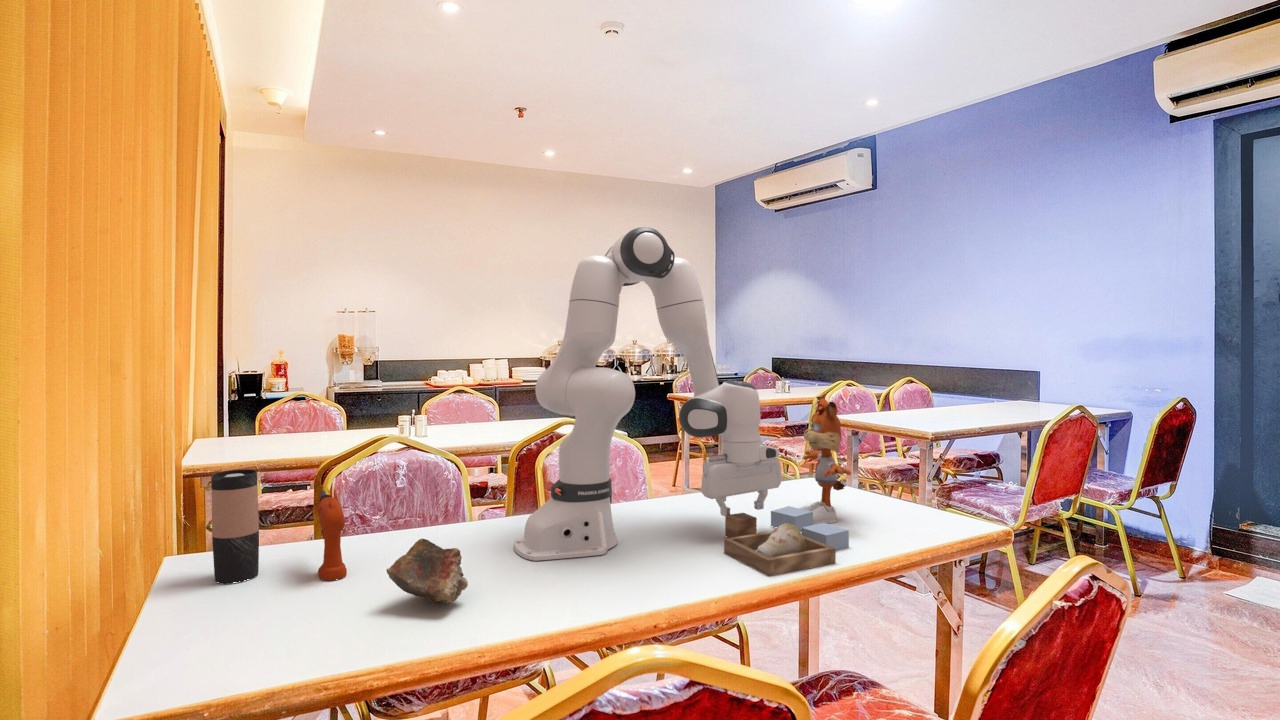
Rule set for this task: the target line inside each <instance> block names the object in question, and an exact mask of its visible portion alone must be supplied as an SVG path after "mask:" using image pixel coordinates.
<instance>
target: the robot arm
mask: <svg viewBox="0 0 1280 720" xmlns="http://www.w3.org/2000/svg"><path fill="white" fill-rule="evenodd" d="M640 282H643V283H645V284H646V285H647V287H649V289H650V291H651V292H652V296H653V297H654V303H655V309H656V314H657V319H658V323H659V325H660V328H661V330H662V332H663V335H664V338H666V340H667V341H669V342H670V343H671V344H673V345H674V346H675V347H676V348H677V349H678V350H679V351H680V352H681V353H682V355H683V357H684V358H685V361H686V364H687V368H688V371H689V376H690V379H691V383H692V387H693V397H691V398H689V399H688V400H687V401H686V402H684V403H683V405H682V406H681V407H680V411H679V414H678V415H679V418H678V419H679V424H680V425H681V427H682V430H683V431H684V432H685V433H686V434H687V435H689V436H691V437H693V438H697V439H699V438H700V439H702V438H707V437H712V436H718V435H719V436H721V454H718V455H711V456H708V457H707V458H706V459H705V460H704V461H703V463H702V477H701V485H700V486H701V489H700V490H701V494H702V495H703V497H705V498H707V499H710V500H714V499H715V501H716V503H717V505H718V507H719V508H720V515H721V516H723V517H725V516H729V515H730V514H731V507H728V506H727V505H726V503H725V502H727V497H732V496H733V497H734V496H738V495H744V494H749V493H754V492H757V493H758V495H757V498H756V500H754V501H753V504H754V505H753V508H754V509H755V510H758V511H759V510H760V511H761V510H764V507H765V503H764V502H765V501H766V499H767V497H768V494H769V492H768V490H771V489H772V490H773V489H777V488H779V487H780V485H781V484H782V468H781V463H780V460H779V459H778V458H779V457H780V449H779V448H777V447H775V446H770V445H766V444H764V443H762V438H761V435H760V428H759V427H760V423H761V405H760V396H759V395H760V394H759V392H758V389H757V388H756V387H755V385H753V383H750V382H747V381H743V380H736V379H735V380H733V379H731V380H725V381H723V382H722V384H720V381H719V378H718V373H717V369H716V365H715V362H714V358H713V353H712V350H711V346H710V345H711V344H710V338H709V337H710V336H709V332H708V331H709V330H708V321H707V313H706V307H705V302H704V298H703V297H704V296H703V293H702V289H701V285H700V283H699V279H698V276H697V274H696V272H695V269H694V267H693V265H692V263H691V262H690V261H689V260H687V259H686V258H683V257H679V256H678V257H677V256H676V255H675V252H674V250H673V249H672V248H671V247H670V245H669V244H668V241H667V240H666V238H665V237H664V235H663V234H662V233H661V232H659V230H657V229H655V228H652V227H647V226H643V227H642V226H641V227H637V228H633V229H631V230H630V231H628V232H627V233H626V234H624V235H622V236H621V237H620V238H619V239H617V240H616V241H615V243H614V244H613V245H611V247H610V248H609V249H608V251H607V252H606V254H604V255H601V254H600V255H599V254H597V255H596V254H595V255H594V254H593V255H589V256H585V257H584V258H582V259H581V260H580V261H579V262H578V264H577V268H576V270H575V272H574V277H573V279H572V284H571V289H570V295H569V300H568V301H569V302H568V309H567V315H566V316H567V318H566V324H565V331H564V335H563V338H562V342H561V345H560V347H559V349H558V351H557V353H556V355H555V357H554V359H553V361H552V362H551V364H550V365H549V366H548V368H546V369H545V370H544V371H543V372H542V373H541V374H540V375H539V376H538V378H537V379H536V383H535V397H536V400H537V402H538V404H539V406H541V407H542V408H543V409H545V410H547V411H550V412H553V413H555V414H557V415H562V416H572V417H575V418H574V420H575V421H574V424H573V428H572V431H571V433H570V435H568V436H567V437H565V438H564V439H562V441H561V442H560V444H559V448H558V458H559V459H558V461H559V462H558V465H559V466H558V470H559V471H558V475H559V476H558V478H559V479H558V480H557V481H555V482H552V481H550V480H547V481H545V482H544V483H543V489H544V490H546V491H548V492H550V498H549V499H548V500H547V501H546V502H545V503H543V504H542V505H541V506H540V507H539V508H537V509H536V510H535V511H534V512H533V513H532V514H530V515H529V516H528V518H527V520H526V523H525V527H524V533H523V537H519V538H517V539H515V540H514V542H513V550H514V551H515V552H516V554H518V555H519V556H520V557H522V558H524V559H526V560H530V561H534V562H535V561H549V560H559V559H560V560H561V559H572V558H583V557H594V556H602V555H605V554H606V553H607V552H608V550H609V549H612V548H613V547H615V546H616V545H618V539H617V536H616V531H615V528H614V522H613V516H612V515H613V514H612V508H611V507H612V505H611V504H612V500H613V498H612V497H613V484H612V478H611V477H610V476H611V475H610V472H611V471H610V465H611V464H610V463H611V462H610V461H611V460H610V459H611V458H610V457H611V444H612V439H613V437H614V433H615V431H616V428H617V426H618V424H619V423H620V421H621V419H622V418H623V417H625V416H626V415H627V414H628V413H629V412H630V411H631V409H632V407H633V405H634V402H635V399H636V389H635V384H634V382H633V380H632V378H631V376H629V374H627V373H625V372H622V371H620V370H616V369H614V368H611V367H600V366H599V367H596V366H597V364H598V363H599V362H598V361H599V360H600V358H601V356H602V354H603V353H604V352H605V351H607V350H608V349H610V348H611V347H612V346H613V344H615V343H614V342H615V340H616V335H617V327H618V326H617V325H618V317H619V307H620V295H621V292H622V289H623V287H629V286H633V285H637V284H639V283H640Z"/></svg>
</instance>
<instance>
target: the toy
mask: <svg viewBox="0 0 1280 720" xmlns="http://www.w3.org/2000/svg"><path fill="white" fill-rule="evenodd" d="M815 398H816V399H817V400H818V401H819V403H818V408H817V411H816V412H814V413H813V414H812V415H811V418H810V424H809V425H810V426H809V427H810V428H807V429H805V431H804V433H803V438H804V440H806V441H807V442H808V445H809V446H810V447H811V449H812V451H810V450H806V451H805V453H804V454H805V455H804V456H803V458H802V459H803V460H804V461H805V460H808V459H813V460H818V461H817V463H816V466H815V471H814V472H815V479H814V480H815V482H817V485H819V487H821V488H822V489H821V499H820V501H816V502H814V503H812V504H810V505H807V506H803V507H802V506H801V507H798V508H799V509H804V510H808V511H812V512H813V525H815V524H820V523H827V524H833V523H834V524H835V523H836V522H837V521H838V520H837V512H836V508H834V506H832V503H831V491H832V488H833V490H835V491H841V490H844V489H845V487H846V485H845V484H844V483H842V481H841V480H838V479H837V474H839V475H841V476H843V475H844V474H846V475H847V476H850V475H851V474H852V472H851V470H849V469H848V468H844V466H841V465H838V464H837V463H836V460H835V458H834V457H833V456H832V455H831V452H832V451H833V452H835V453H836V454H839V448H840V445H841V442H842V431H841V429H842V428H841V427H842V425H841V421H840V418H839V416H838V407H837V404H836V403H835V402H834V401H829V402H828V401H827V400H826V399H825V398H823V397H821V396H815Z"/></svg>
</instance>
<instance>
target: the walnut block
mask: <svg viewBox="0 0 1280 720" xmlns="http://www.w3.org/2000/svg"><path fill="white" fill-rule="evenodd" d="M724 520H725V525H724V526H725V528H724V530H725V532H724V533H725V536H727V537H728V538H732V537H739V536H745V535H751V534H757V524H758V523H757V522H758V521H757V520H758V519H757V517H756V516H753V515H750V514H748V513H745V512H739V513H730V515H729V516H724ZM725 536H724V537H725ZM727 537H726V538H727Z"/></svg>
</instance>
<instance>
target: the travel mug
mask: <svg viewBox="0 0 1280 720" xmlns="http://www.w3.org/2000/svg"><path fill="white" fill-rule="evenodd" d="M210 478H211V479H210V480H211V481H210V482H211V483H210V485H211V487H210V488H211V494H210V495H211V539H212V540H211V541H212V556H213V571H214V573H213V574H214V582H215V581H216V582H219V583H233V582H239V581H244V580H247V579H251V578H253V579H255V578H256V577H258V575H259V569H260V568H259V566H260V565H259V561H260V560H259V558H260V557H259V556H260V555H259V553H260V551H259V550H260V549H259V548H260V547H259V545H260V522H259V521H260V520H259V518H260V517H259V492H258V491H259V490H258V489H259V488H258V471H257V470H255V469H247V468H245V469H233V470H232V469H230V470H224V471H220V472H219V471H218V472H215V473H213V474H212V475H211V476H210ZM255 576H256V577H255ZM254 577H255V578H254ZM251 580H252V579H251ZM216 582H215V583H216ZM219 583H218V584H219Z"/></svg>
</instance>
